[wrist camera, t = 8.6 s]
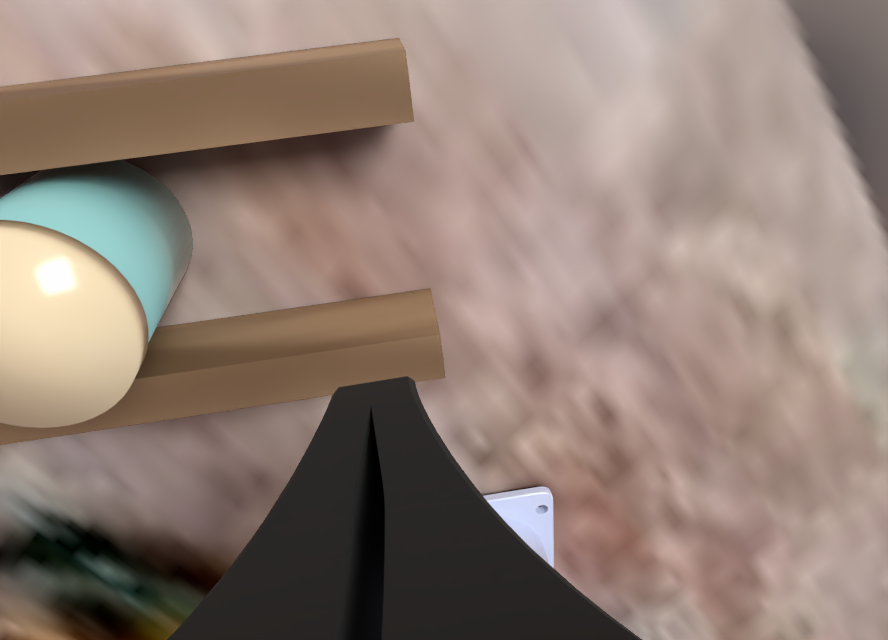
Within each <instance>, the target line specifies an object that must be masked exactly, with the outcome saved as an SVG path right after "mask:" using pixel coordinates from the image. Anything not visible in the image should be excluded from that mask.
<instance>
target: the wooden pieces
mask: <svg viewBox="0 0 888 640" xmlns="http://www.w3.org/2000/svg"><path fill="white" fill-rule="evenodd" d="M407 122H414V116H413V108H412V100H411V92H410V83H409V75H408V67H407V59H406V51H405V49H404V47H403V45H402V43H401V41H400V39H399V38H395V39H387V40H379V41H370V42H362V43H354V44H346V45H338V46H330V47H322V48H313V49H305V50H297V51H289V52H281V53H273V54H265V55H256V56H248V57H240V58H232V59H224V60H216V61H208V62H199V63H191V64H183V65H175V66H167V67H159V68H151V69H142V70H134V71H126V72H118V73H110V74H102V75H94V76H85V77H77V78H69V79H61V80H53V81H45V82H37V83H28V84H20V85H12V86H4V87H0V175H6V174H14V173H21V172H29V171H37V170H44V169H52V168H60V167H68V166H75V165H83V164H91V163H98V162H106V161H114V160H121V159H129V158H137V157H145V156H152V155H160V154H168V153H175V152H183V151H191V150H199V149H206V148H214V147H222V146H229V145H237V144H245V143H253V142H260V141H268V140H276V139H283V138H291V137H299V136H306V135H314V134H322V133H330V132H337V131H345V130H353V129H360V128H368V127H376V126H384V125H391V124H399V123H407ZM405 376H408V377H410V378H411V379H413V380H414V381H415V382H421V381H428V380H434V379H441V378H445V370H444V362H443V354H442V346H441V337H440V331H439V327H438V322H437V317H436V313H435V308H434V303H433V298H432V294H431V289H423V290H416V291H410V292H403V293H396V294H389V295H382V296H375V297H368V298H361V299H354V300H347V301H340V302H333V303H326V304H319V305H312V306H305V307H298V308H291V309H284V310H277V311H270V312H263V313H256V314H249V315H242V316H235V317H228V318H221V319H214V320H207V321H200V322H193V323H186V324H179V325H172V326H166V327H159V328H156V329H155V331H154V333H153V335H152V337H151V339H150V340H149V342H148V349H147V352H146V356H145V359H144V361H143V363H142V365H141V367H140V369H139V371H138V373H137V375H136V377H135V379H134V381H133V383H132V385H131V386H130V388H129V390H128V391H127V392H126V394H125V395H124V396H123V398H122V399H121V400H119V401H118V402H117V403H116V404H115V405H114V406H113V407H111V408H110V409H109V410H107V411H106V412H104V413H102V414H100V415H98V416H96V417H95V418H92V419H89V420H87V421H84V422H81V423H77V424H73V425H68V426H61V427H50V428H34V427H21V426H14V425H8V424H4V423H0V445H3V444H10V443H17V442H23V441H30V440H37V439H43V438H50V437H56V436H63V435H70V434H76V433H83V432H90V431H96V430H103V429H109V428H116V427H123V426H129V425H136V424H143V423H149V422H156V421H162V420H169V419H176V418H182V417H189V416H196V415H202V414H209V413H215V412H222V411H229V410H235V409H242V408H249V407H255V406H262V405H269V404H275V403H282V402H288V401H295V400H302V399H308V398H315V397H322V396H328V395H333V394H334V392H335V391H336V390H337V389H338V387H343V386H349V385H356V384H362V383H368V382H374V381H380V380H386V379H393V378H399V377H405Z"/></svg>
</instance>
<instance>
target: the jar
mask: <svg viewBox="0 0 888 640" xmlns="http://www.w3.org/2000/svg"><path fill="white" fill-rule="evenodd" d="M192 249H193V238H192V232H191V227H190V224H189V221H188V218H187V216H186V214H185V212H184V210H183V208H182V207H181V205H180V203H179V202H178V200H177V199H176V198H175V197H174V195H173V194H172V193H171V192H170V191H169V190H168V189H167V188H166V187H165V186H164V185H163V184H162V183H161V182H160V181H159V180H157V179H156V178H155V177H154V176H152V175H151V174H149V173H147V172H146V171H144V170H143V169H141V168H139V167H137V166H135V165H133V164H130V163H128V162H125V161H122V160H114V161H106V162H98V163H91V164H83V165H75V166H68V167H60V168H52V169H44V170H40V171H38V172H37V173H36V174H34V175H33V176H31V177H30V178H28V179H27V180H25V181H24V182H23V183H21V184H20V185H18V186H17V187H15V188H14V189H13V190H11V191H10V192H8V193H7V194H5V195H4V196H3V197H1V198H0V423H4V424H8V425H14V426H21V427H34V428H50V427H61V426H68V425H73V424H77V423H81V422H84V421H87V420H89V419H92V418H95V417H96V416H98V415H100V414H102V413H104V412H106V411H107V410H109V409H110V408H111V407H113V406H114V405H115V404H116V403H117V402H118V401H119V400H121V399H122V398H123V396H124V395H125V394H126V392H127V391H128V390H129V388H130V386H131V385H132V383H133V381H134V379H135V377H136V375H137V373H138V371H139V369H140V367H141V365H142V363H143V361H144V359H145V356H146V352H147V349H148V342H149V340H150V339H151V337H152V335H153V333H154V331H155V329H156V327H157V325H158V323H159V321H160V320H161V318H162V316H163V314H164V312H165V310H166V308H167V306H168V304H169V302H170V301H171V299H172V297H173V295H174V293H175V291H176V289H177V287H178V285H179V283H180V281H181V280H182V278H183V276H184V274H185V272H186V270H187V268H188V266H189V263H190V260H191V257H192Z"/></svg>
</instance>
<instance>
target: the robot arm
mask: <svg viewBox="0 0 888 640" xmlns="http://www.w3.org/2000/svg"><path fill="white" fill-rule="evenodd" d="M541 505H543V506H541ZM538 506H541V507H538ZM167 640H642V639H640V638H639V637H638V636H636V635H635V634H634V633H632V632H631V631H630V630H628V629H627V628H626V627H624V626H623V625H622V624H620V623H619V622H618V621H616V620H615V619H614V618H612V617H611V616H610V615H608V614H607V613H606V612H605V611H603V610H602V609H601V608H600V607H598V606H597V605H596V604H595V603H593V602H592V601H591V600H590V599H588V598H587V597H586V596H585V595H583V594H582V593H581V592H580V591H578V590H577V589H576V588H575V587H574V586H573V585H571V584H570V583H569V582H568V581H567V580H566V579H565V578H564V577H563V576H562V575H560V574H559V573H558V572H557V571H556V570H555V569H554V535H553V497H552V494H551V491H550V490H549V489H548V488H547V487H534V488H528V489H522V490H515V491H509V492H503V493H497V494H490V495H484V496H482V494H481V493H480V492H479V491H478V489H477V488H476V487H475V486H474V484H473V483H472V482H471V481H470V479H469V478H468V477H467V475H466V474H465V473H464V471H463V470H462V469H461V467H460V466H459V465H458V463H457V462H456V460H455V459H454V457H453V456H452V455H451V453H450V451H449V450H448V448H447V447H446V445H445V444H444V442H443V441H442V439H441V437H440V436H439V434H438V433H437V431H436V429H435V428H434V426H433V424H432V422H431V421H430V419H429V417H428V415H427V413H426V411H425V409H424V407H423V405H422V402H421V400H420V398H419V395H418V392H417V389H416V385H415V381H414V380H413V379H411V378H410V377H408V376H405V377H399V378H393V379H386V380H380V381H374V382H368V383H362V384H356V385H349V386H343V387H338V389H337V390H336V391H335V392H334V394H333V396H332V399H331V401H330V403H329V406H328V408H327V410H326V412H325V414H324V417H323V419H322V421H321V423H320V425H319V427H318V429H317V431H316V433H315V435H314V437H313V439H312V441H311V443H310V445H309V447H308V448H307V450H306V452H305V454H304V456H303V457H302V459H301V461H300V463H299V465H298V467H297V468H296V470H295V472H294V474H293V475H292V477H291V479H290V481H289V482H288V484H287V485H286V487H285V489H284V490H283V492H282V493H281V495H280V496H279V498H278V500H277V501H276V503H275V504H274V506H273V508H272V509H271V511H270V512H269V514H268V515H267V517H266V518H265V520H264V521H263V523H262V524H261V526H260V527H259V529H258V530H257V532H256V533H255V534H254V536H253V537H252V539H251V540H250V541H249V543H248V544H247V545H246V547H245V548H244V549H243V551H242V552H241V553H240V555H239V556H238V557H237V559H236V560H235V561H234V563H233V564H232V565H231V567H230V568H229V569H228V570H227V572H226V573H225V574H224V575H223V576H222V578H221V579H220V580H219V581H218V582H217V584H216V585H215V586H214V587H213V589H212V590H211V591H210V592H209V593H208V595H207V596H206V597H205V598H204V599H203V601H202V602H201V603H200V604H199V605H198V607H197V608H196V609H195V610H194V611H193V612H192V613H191V614H190V616H189V617H188V618H187V619H186V620H185V621H184V622H183V623H182V625H181V626H180V627H179V628H178V629H177V630H176V631H175V632H174V633H173V634H172V635H171V636H170V637H169V638H168V639H167Z"/></svg>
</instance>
